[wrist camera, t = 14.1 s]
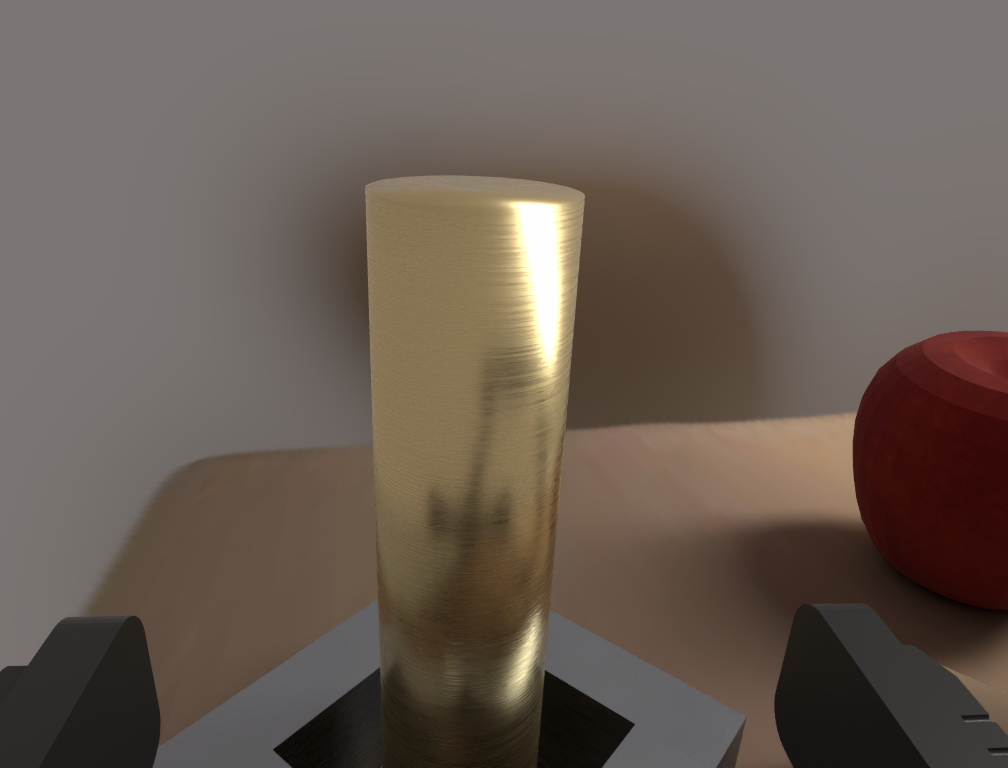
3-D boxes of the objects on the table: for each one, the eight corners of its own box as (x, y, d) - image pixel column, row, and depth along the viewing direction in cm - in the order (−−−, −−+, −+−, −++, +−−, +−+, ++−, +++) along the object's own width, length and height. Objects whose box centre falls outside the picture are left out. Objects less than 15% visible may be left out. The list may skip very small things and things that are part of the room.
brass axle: (452, 754, 21) (465, 170, 14) (557, 833, 19) (625, 193, 12) (354, 851, 18) (318, 185, 12) (465, 954, 16) (491, 217, 10)
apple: (792, 579, 28) (850, 340, 25) (859, 486, 35) (913, 288, 32) (1089, 708, 23) (1224, 427, 19) (1100, 568, 30) (1200, 341, 26)
